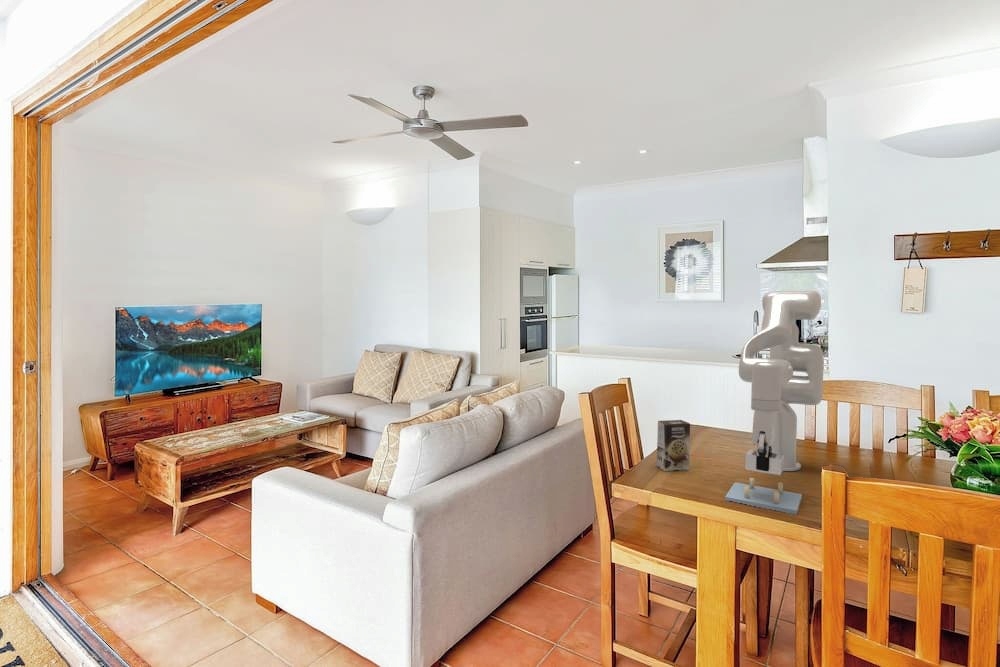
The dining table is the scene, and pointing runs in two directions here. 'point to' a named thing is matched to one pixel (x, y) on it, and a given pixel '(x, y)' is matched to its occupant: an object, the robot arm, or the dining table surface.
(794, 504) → the blue pegged holder base
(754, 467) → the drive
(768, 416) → the robot arm
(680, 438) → the cookie box
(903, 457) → the dining table surface
